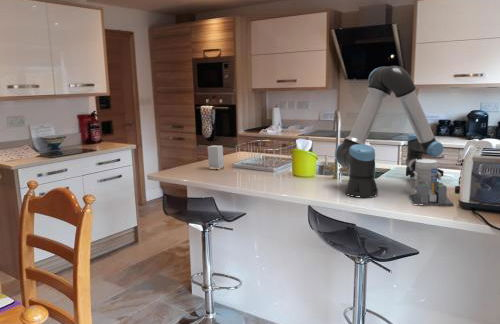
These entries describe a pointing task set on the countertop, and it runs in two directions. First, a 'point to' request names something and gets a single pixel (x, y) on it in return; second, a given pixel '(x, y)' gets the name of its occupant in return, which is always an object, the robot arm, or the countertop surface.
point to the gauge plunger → (430, 190)
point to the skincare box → (215, 156)
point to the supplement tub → (426, 170)
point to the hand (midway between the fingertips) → (428, 177)
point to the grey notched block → (423, 195)
